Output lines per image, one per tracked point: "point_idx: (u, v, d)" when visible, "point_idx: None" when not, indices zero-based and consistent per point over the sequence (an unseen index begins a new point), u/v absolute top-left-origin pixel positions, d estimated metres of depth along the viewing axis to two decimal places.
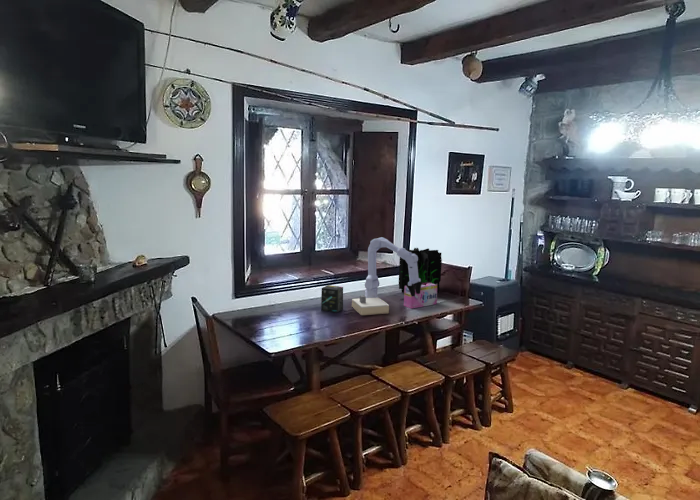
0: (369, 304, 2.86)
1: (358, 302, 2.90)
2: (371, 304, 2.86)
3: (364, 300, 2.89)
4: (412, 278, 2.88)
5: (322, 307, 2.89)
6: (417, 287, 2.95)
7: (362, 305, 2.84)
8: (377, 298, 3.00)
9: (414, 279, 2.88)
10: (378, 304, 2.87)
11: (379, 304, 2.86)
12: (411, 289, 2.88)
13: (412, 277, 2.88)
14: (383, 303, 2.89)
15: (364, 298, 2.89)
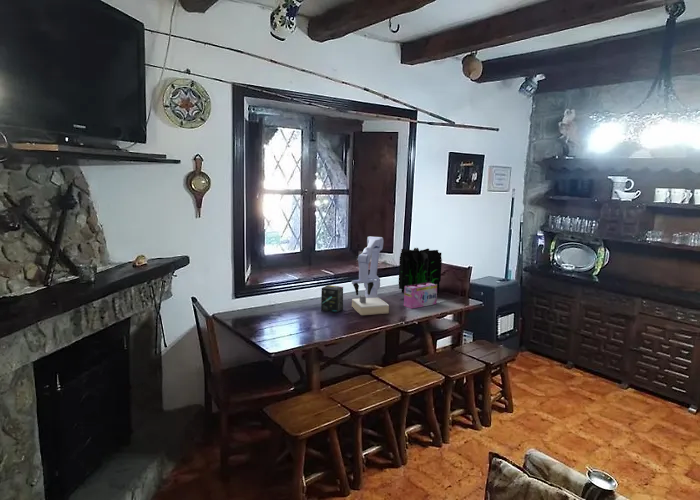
0: (369, 304, 2.86)
1: (358, 302, 2.90)
2: (371, 304, 2.86)
3: (364, 300, 2.89)
4: (359, 277, 2.87)
5: (322, 307, 2.89)
6: (368, 288, 2.90)
7: (362, 305, 2.84)
8: (377, 298, 3.00)
9: (360, 279, 2.86)
10: (378, 304, 2.87)
11: (379, 304, 2.86)
12: (356, 288, 2.88)
13: (359, 276, 2.87)
14: (383, 303, 2.89)
15: (364, 298, 2.89)
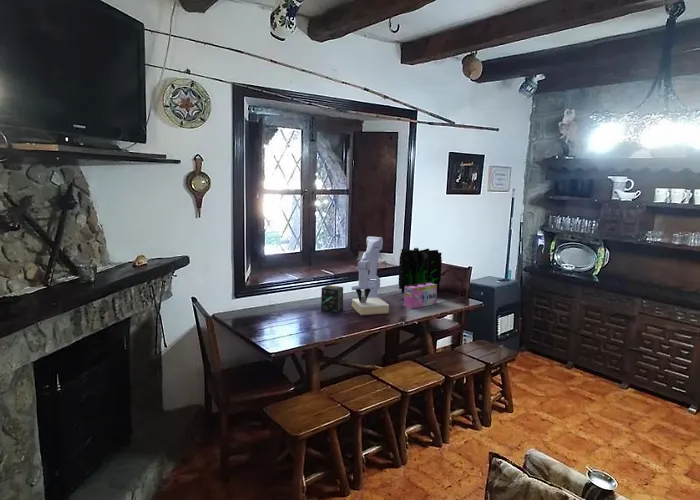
0: (369, 304, 2.86)
1: (358, 302, 2.90)
2: (371, 304, 2.86)
3: (364, 300, 2.89)
4: (359, 284, 2.88)
5: (322, 307, 2.89)
6: (365, 294, 2.90)
7: (362, 305, 2.84)
8: (377, 298, 3.00)
9: (360, 285, 2.87)
10: (378, 304, 2.87)
11: (379, 304, 2.86)
12: (359, 294, 2.90)
13: (359, 283, 2.87)
14: (383, 303, 2.89)
15: (364, 298, 2.89)
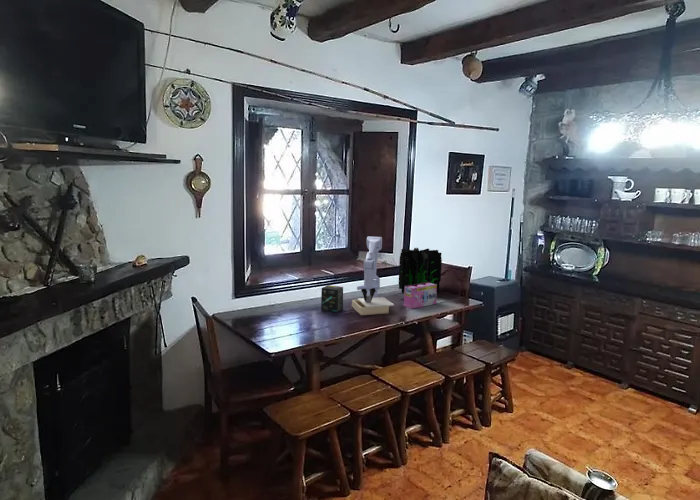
0: (374, 304, 2.87)
1: (363, 302, 2.91)
2: (376, 304, 2.87)
3: (369, 300, 2.90)
4: (364, 283, 2.89)
5: (322, 307, 2.89)
6: (370, 294, 2.91)
7: (367, 305, 2.85)
8: (382, 298, 3.01)
9: (365, 285, 2.88)
10: (383, 304, 2.88)
11: (384, 304, 2.87)
12: (364, 294, 2.91)
13: (364, 282, 2.88)
14: (388, 303, 2.90)
15: (369, 298, 2.90)
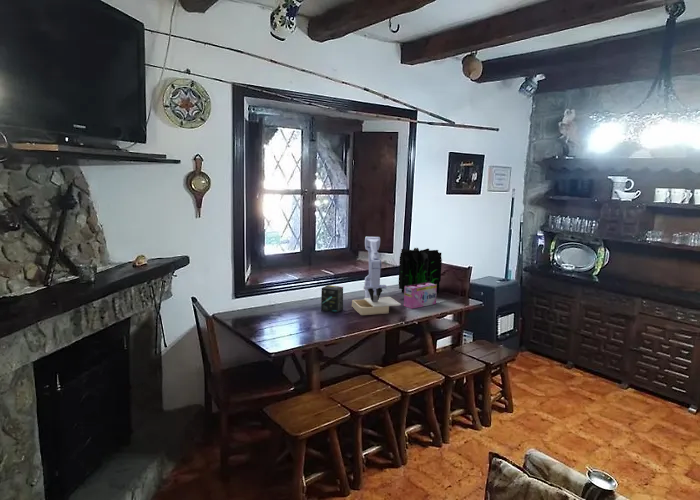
0: (381, 303, 2.89)
1: (370, 301, 2.92)
2: (383, 303, 2.89)
3: (376, 299, 2.92)
4: (371, 283, 2.90)
5: (322, 307, 2.89)
6: (377, 293, 2.93)
7: (374, 304, 2.86)
8: (388, 297, 3.03)
9: (372, 284, 2.89)
10: (390, 303, 2.89)
11: (390, 303, 2.89)
12: (371, 293, 2.92)
13: (371, 282, 2.90)
14: (395, 302, 2.92)
15: (376, 297, 2.91)
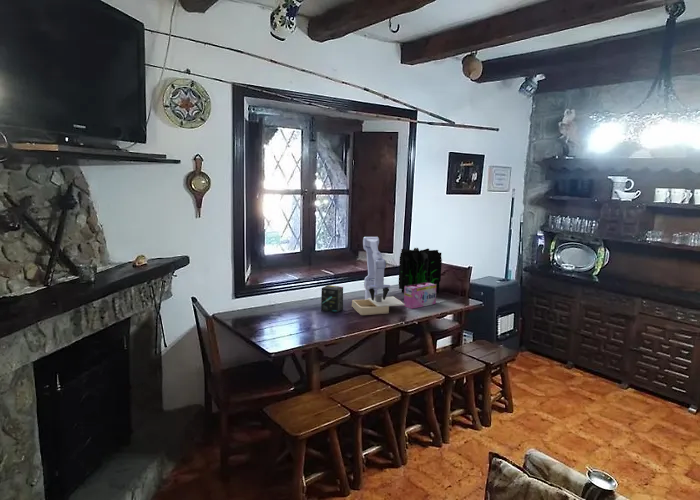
0: (385, 303, 2.89)
1: (374, 301, 2.93)
2: (387, 303, 2.89)
3: (380, 299, 2.92)
4: (375, 283, 2.91)
5: (322, 307, 2.89)
6: (384, 293, 2.94)
7: (378, 304, 2.87)
8: (392, 297, 3.04)
9: (376, 284, 2.90)
10: (394, 303, 2.90)
11: (394, 303, 2.90)
12: (371, 293, 2.92)
13: (375, 282, 2.91)
14: (399, 302, 2.92)
15: (380, 297, 2.92)
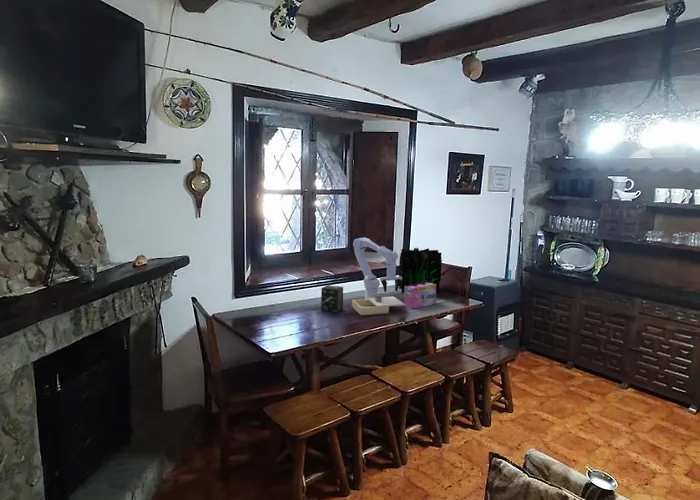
0: (385, 303, 2.89)
1: (374, 301, 2.93)
2: (387, 303, 2.89)
3: (380, 299, 2.92)
4: (387, 275, 2.97)
5: (322, 307, 2.89)
6: (396, 284, 3.00)
7: (378, 304, 2.87)
8: (392, 297, 3.04)
9: (388, 276, 2.96)
10: (394, 303, 2.90)
11: (394, 303, 2.90)
12: (384, 285, 2.98)
13: (387, 274, 2.96)
14: (399, 302, 2.92)
15: (380, 297, 2.92)
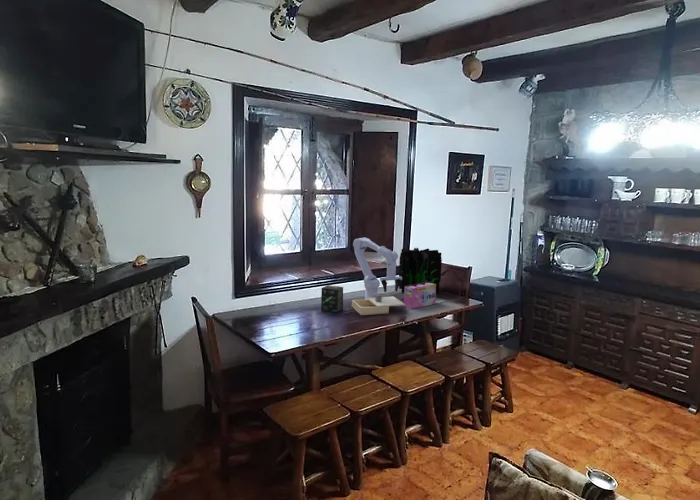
0: (385, 303, 2.89)
1: (374, 301, 2.93)
2: (387, 303, 2.89)
3: (380, 299, 2.92)
4: (387, 275, 2.97)
5: (322, 307, 2.89)
6: (396, 284, 3.00)
7: (378, 304, 2.87)
8: (392, 297, 3.04)
9: (388, 276, 2.96)
10: (394, 303, 2.90)
11: (394, 303, 2.90)
12: (384, 285, 2.98)
13: (387, 274, 2.96)
14: (399, 302, 2.92)
15: (380, 297, 2.92)
